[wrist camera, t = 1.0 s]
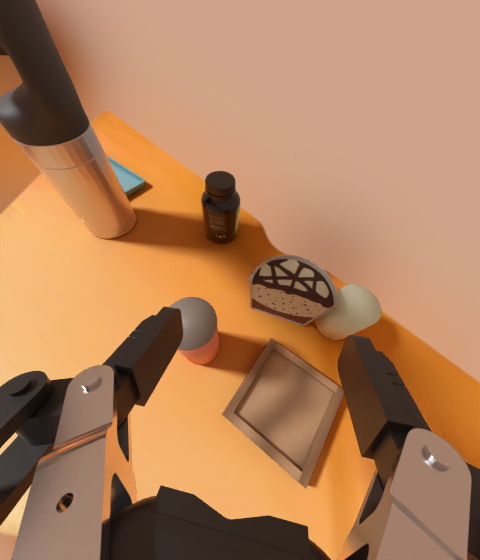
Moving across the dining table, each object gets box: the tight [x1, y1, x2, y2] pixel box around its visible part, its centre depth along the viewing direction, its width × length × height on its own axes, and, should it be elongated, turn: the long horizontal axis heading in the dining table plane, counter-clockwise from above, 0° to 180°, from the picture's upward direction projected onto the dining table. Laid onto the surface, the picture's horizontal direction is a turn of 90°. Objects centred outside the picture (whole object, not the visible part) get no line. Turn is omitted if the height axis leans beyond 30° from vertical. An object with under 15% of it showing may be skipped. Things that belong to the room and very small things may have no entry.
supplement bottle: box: [201, 171, 240, 244], centre depth 38 cm, size 7×7×12 cm
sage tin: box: [315, 285, 381, 340], centre depth 31 cm, size 6×6×8 cm
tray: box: [222, 338, 344, 488], centre depth 28 cm, size 12×12×2 cm
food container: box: [246, 255, 338, 326], centre depth 32 cm, size 12×6×10 cm, turn 72°
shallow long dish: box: [106, 155, 145, 196], centre depth 49 cm, size 26×9×2 cm, turn 53°
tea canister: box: [170, 297, 219, 365], centre depth 26 cm, size 6×6×12 cm
